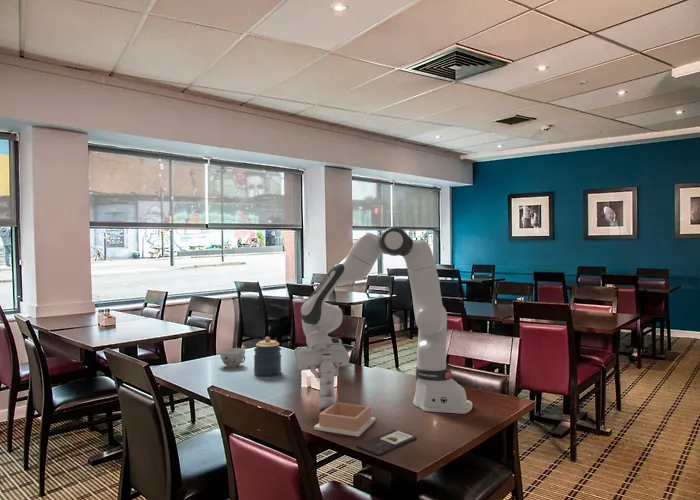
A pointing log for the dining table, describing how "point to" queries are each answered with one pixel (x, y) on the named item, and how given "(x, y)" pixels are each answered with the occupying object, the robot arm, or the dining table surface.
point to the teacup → (233, 356)
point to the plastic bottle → (326, 381)
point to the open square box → (345, 419)
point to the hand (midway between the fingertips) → (327, 376)
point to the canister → (267, 358)
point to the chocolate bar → (386, 442)
